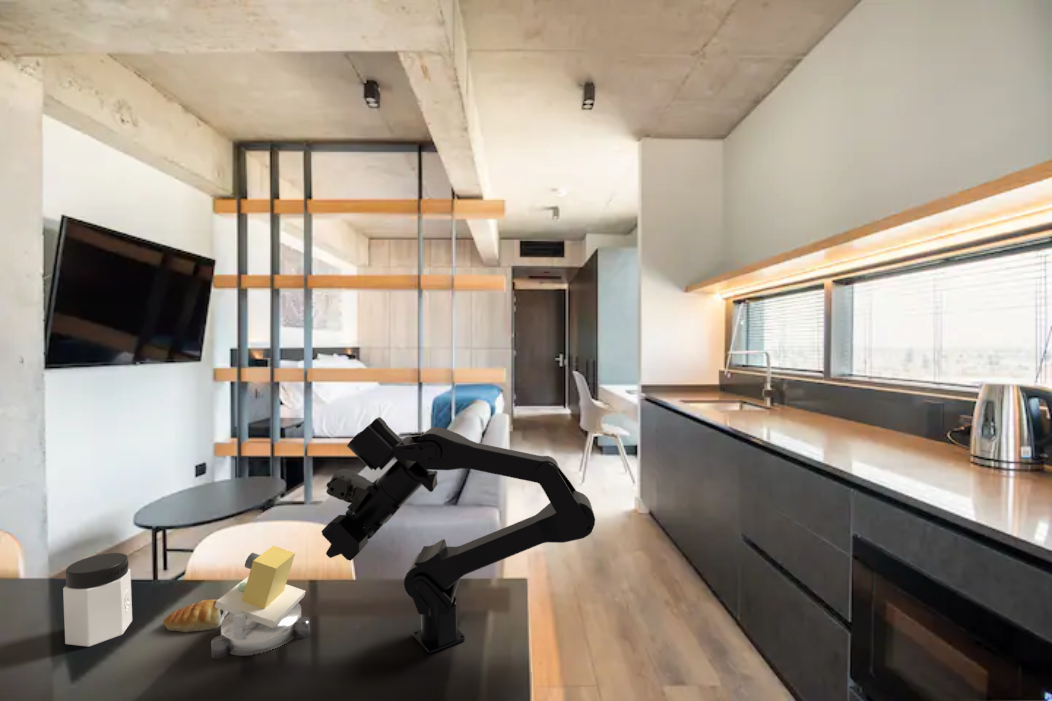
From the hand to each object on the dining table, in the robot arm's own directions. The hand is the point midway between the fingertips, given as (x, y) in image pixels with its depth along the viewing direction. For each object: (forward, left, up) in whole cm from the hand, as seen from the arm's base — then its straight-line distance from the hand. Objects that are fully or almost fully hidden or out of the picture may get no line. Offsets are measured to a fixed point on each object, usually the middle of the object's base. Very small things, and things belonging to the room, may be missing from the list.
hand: (328, 555), depth 87 cm
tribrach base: (+7, +9, -14) cm, 18 cm away
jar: (+24, +31, -14) cm, 42 cm away
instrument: (+7, +9, -8) cm, 14 cm away
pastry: (+18, +17, -14) cm, 28 cm away
